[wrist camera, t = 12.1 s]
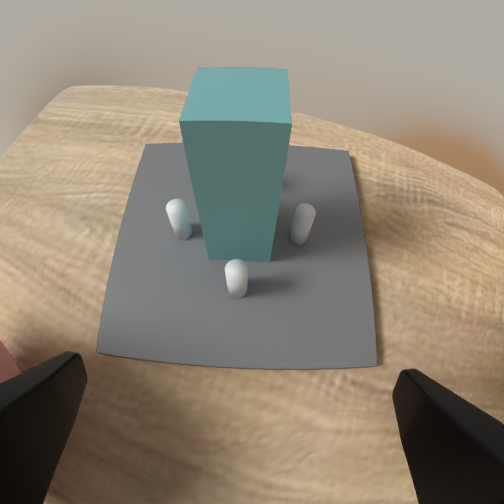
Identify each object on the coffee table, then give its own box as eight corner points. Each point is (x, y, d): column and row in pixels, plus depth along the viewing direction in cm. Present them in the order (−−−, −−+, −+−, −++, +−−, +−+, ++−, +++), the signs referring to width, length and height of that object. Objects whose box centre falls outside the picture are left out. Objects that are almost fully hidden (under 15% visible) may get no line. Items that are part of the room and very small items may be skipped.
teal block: (269, 262, 23) (292, 123, 12) (208, 259, 23) (179, 120, 12) (270, 211, 25) (287, 69, 14) (214, 208, 25) (197, 67, 14)
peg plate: (372, 366, 21) (398, 358, 17) (100, 353, 20) (73, 342, 17) (346, 156, 29) (357, 125, 26) (147, 149, 29) (137, 118, 26)
